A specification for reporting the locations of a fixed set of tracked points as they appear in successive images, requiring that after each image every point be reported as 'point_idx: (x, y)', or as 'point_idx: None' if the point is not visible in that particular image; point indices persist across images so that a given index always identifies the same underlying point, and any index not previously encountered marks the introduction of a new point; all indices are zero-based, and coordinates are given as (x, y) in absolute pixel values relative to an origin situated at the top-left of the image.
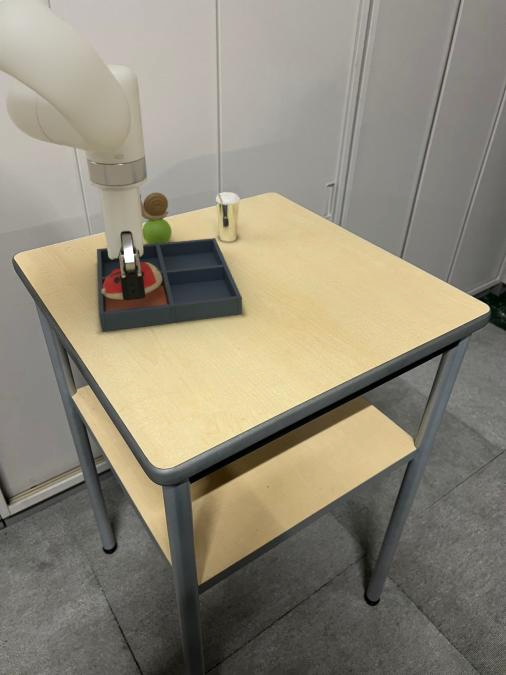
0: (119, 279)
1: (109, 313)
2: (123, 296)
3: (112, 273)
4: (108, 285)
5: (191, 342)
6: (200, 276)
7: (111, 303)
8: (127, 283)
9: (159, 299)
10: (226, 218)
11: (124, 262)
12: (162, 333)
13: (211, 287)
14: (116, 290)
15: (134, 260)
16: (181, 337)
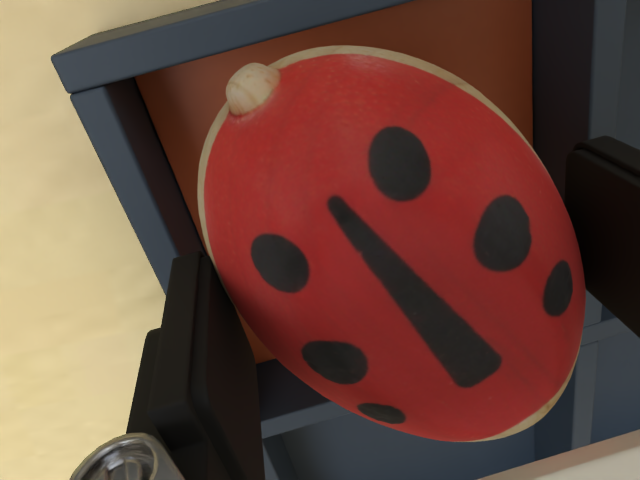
0: (284, 286)
1: (89, 135)
2: (175, 272)
3: (385, 208)
4: (253, 162)
5: (102, 441)
6: (548, 429)
7: (376, 43)
8: (130, 424)
9: None
10: None
11: (634, 221)
12: (145, 337)
13: (481, 447)
14: (213, 228)
15: (631, 298)
16: (129, 406)
